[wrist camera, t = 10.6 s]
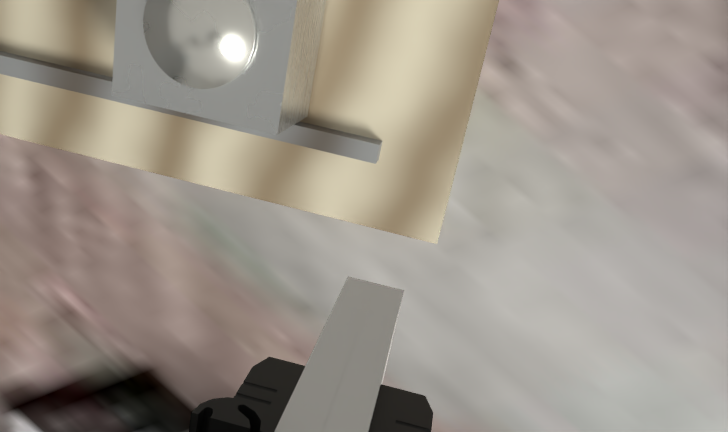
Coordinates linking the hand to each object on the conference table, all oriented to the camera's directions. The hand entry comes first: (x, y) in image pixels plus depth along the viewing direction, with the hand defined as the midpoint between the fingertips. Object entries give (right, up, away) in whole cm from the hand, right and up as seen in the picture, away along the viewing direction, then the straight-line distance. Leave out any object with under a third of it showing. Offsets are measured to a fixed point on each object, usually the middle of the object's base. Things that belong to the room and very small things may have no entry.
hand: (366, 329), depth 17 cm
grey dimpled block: (-6, +15, +14) cm, 22 cm away
